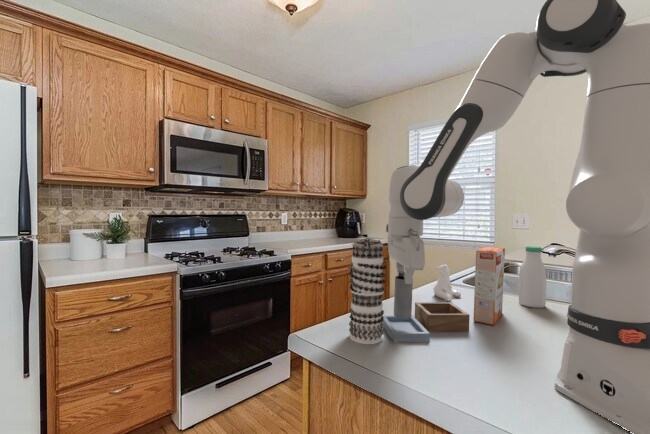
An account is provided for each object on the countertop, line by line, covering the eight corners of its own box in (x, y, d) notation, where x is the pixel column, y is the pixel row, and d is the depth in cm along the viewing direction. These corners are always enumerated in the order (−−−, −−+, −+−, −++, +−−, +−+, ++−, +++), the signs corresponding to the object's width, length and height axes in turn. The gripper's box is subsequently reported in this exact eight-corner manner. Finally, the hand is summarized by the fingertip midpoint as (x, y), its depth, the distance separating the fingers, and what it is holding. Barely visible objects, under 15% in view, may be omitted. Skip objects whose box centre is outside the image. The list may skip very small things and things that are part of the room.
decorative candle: (392, 338, 80) (394, 238, 79) (368, 348, 74) (369, 241, 73) (365, 327, 87) (366, 236, 86) (340, 336, 81) (341, 237, 80)
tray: (429, 341, 78) (429, 333, 78) (393, 341, 78) (393, 333, 78) (412, 322, 91) (412, 315, 91) (381, 322, 91) (381, 315, 91)
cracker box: (495, 326, 89) (498, 251, 88) (472, 321, 92) (474, 249, 92) (504, 313, 100) (505, 247, 99) (482, 309, 103) (484, 245, 103)
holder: (469, 331, 85) (469, 314, 85) (428, 331, 84) (428, 314, 84) (450, 317, 96) (451, 302, 96) (414, 317, 95) (415, 302, 95)
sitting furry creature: (449, 302, 111) (450, 268, 111) (427, 296, 118) (428, 264, 118) (462, 297, 118) (463, 265, 117) (440, 292, 124) (441, 261, 124)
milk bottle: (550, 308, 105) (552, 248, 105) (527, 308, 105) (529, 248, 105) (535, 301, 113) (537, 245, 112) (513, 301, 113) (515, 245, 112)
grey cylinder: (412, 319, 82) (413, 279, 82) (394, 318, 83) (395, 278, 82) (410, 313, 86) (411, 276, 86) (393, 312, 87) (394, 275, 87)
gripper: (432, 231, 74) (430, 291, 74) (405, 225, 94) (404, 272, 94) (405, 231, 73) (404, 291, 74) (384, 225, 94) (383, 272, 94)
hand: (404, 280), depth 84 cm, fingers closed on grey cylinder, 4 cm apart
